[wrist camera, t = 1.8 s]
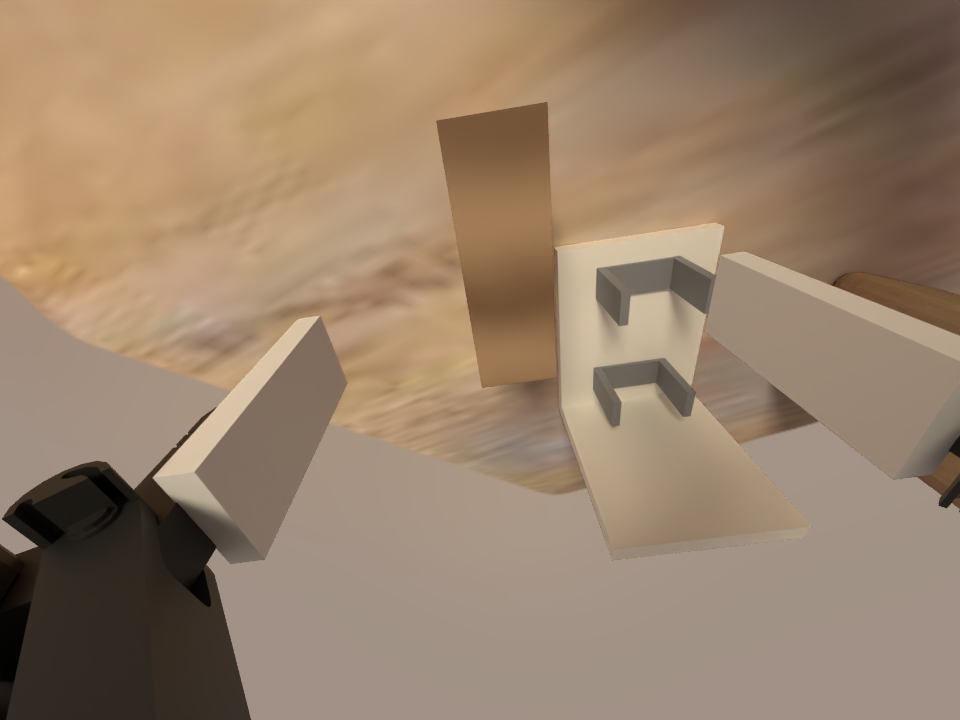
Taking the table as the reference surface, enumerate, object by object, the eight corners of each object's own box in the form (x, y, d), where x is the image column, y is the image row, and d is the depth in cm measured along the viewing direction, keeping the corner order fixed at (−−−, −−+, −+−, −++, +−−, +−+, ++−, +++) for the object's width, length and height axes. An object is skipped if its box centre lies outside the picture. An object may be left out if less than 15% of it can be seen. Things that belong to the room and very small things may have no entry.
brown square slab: (448, 127, 23) (436, 120, 13) (510, 117, 23) (547, 102, 13) (475, 301, 29) (481, 387, 19) (524, 293, 29) (556, 377, 19)
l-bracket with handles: (553, 247, 27) (633, 343, 15) (714, 222, 27) (942, 300, 14) (559, 409, 36) (612, 560, 23) (681, 392, 35) (805, 537, 23)
